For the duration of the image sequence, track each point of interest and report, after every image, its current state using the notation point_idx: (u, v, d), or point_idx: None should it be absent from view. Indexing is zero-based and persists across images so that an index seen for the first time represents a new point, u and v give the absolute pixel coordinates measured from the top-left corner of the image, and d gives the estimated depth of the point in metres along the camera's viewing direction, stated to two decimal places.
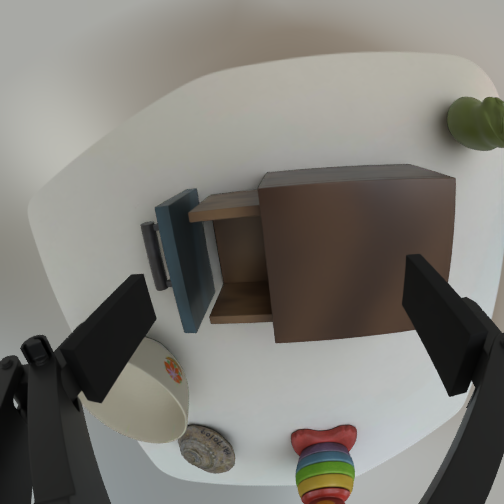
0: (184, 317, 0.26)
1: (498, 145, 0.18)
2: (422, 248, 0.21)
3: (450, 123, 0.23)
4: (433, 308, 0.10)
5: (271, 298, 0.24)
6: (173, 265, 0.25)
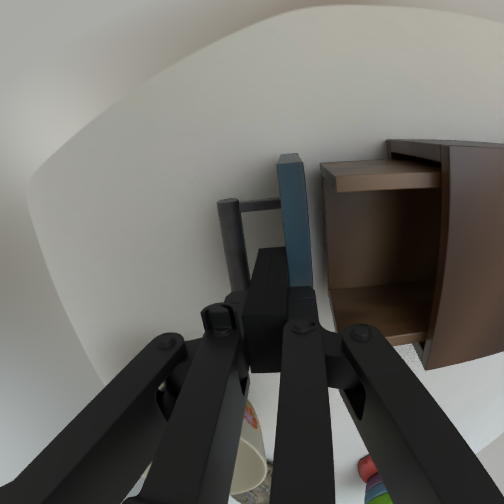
0: None
1: None
2: None
3: None
4: None
5: (439, 310, 0.14)
6: (299, 265, 0.15)
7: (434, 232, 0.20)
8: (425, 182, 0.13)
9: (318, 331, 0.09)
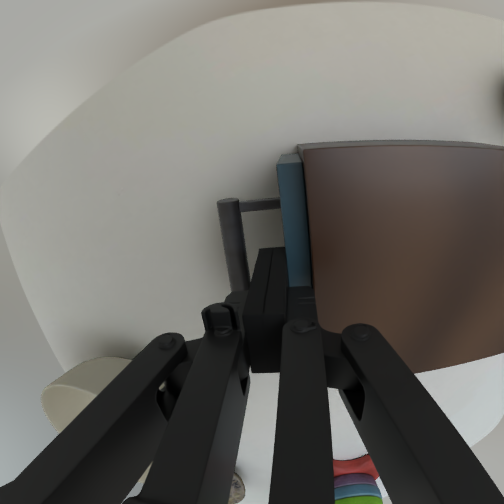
0: None
1: None
2: None
3: None
4: None
5: None
6: (299, 265, 0.15)
7: None
8: None
9: (317, 331, 0.09)
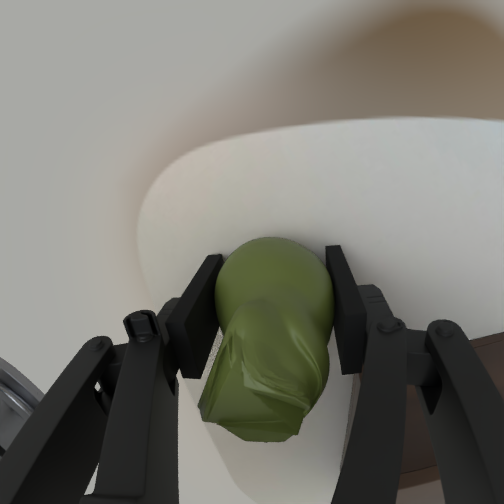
0: None
1: (324, 387, 0.09)
2: None
3: None
4: (334, 293, 0.12)
5: None
6: None
7: None
8: None
9: (403, 332, 0.08)
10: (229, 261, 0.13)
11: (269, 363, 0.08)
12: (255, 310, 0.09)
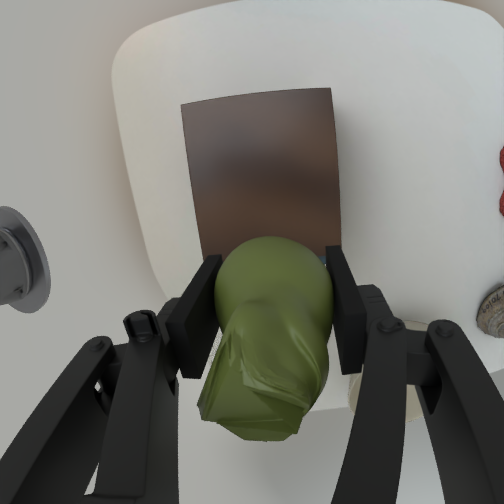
0: None
1: (323, 386, 0.09)
2: (244, 126, 0.24)
3: None
4: (334, 293, 0.12)
5: None
6: None
7: None
8: None
9: (403, 332, 0.08)
10: (228, 260, 0.13)
11: (268, 362, 0.08)
12: (254, 308, 0.08)
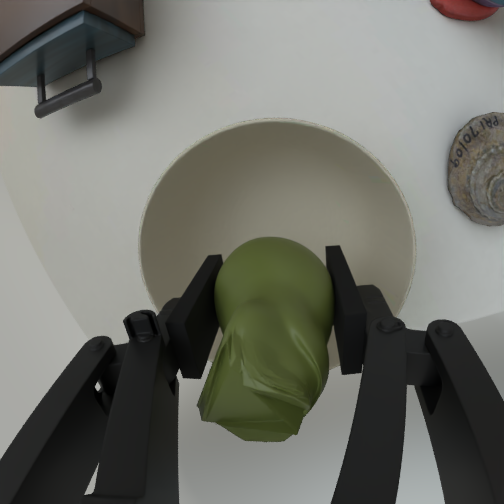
0: (64, 28, 0.13)
1: (323, 386, 0.09)
2: None
3: None
4: (334, 293, 0.12)
5: (35, 28, 0.13)
6: (18, 54, 0.14)
7: None
8: None
9: (403, 332, 0.08)
10: (229, 260, 0.13)
11: (269, 363, 0.08)
12: (254, 309, 0.08)
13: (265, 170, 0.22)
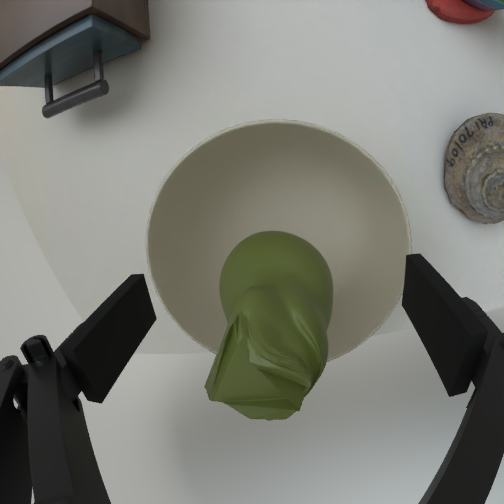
0: (73, 31, 0.14)
1: (323, 368, 0.10)
2: None
3: None
4: (433, 308, 0.10)
5: (45, 30, 0.13)
6: (27, 56, 0.15)
7: None
8: None
9: None
10: (234, 252, 0.14)
11: (273, 341, 0.09)
12: (259, 293, 0.09)
13: (267, 169, 0.23)
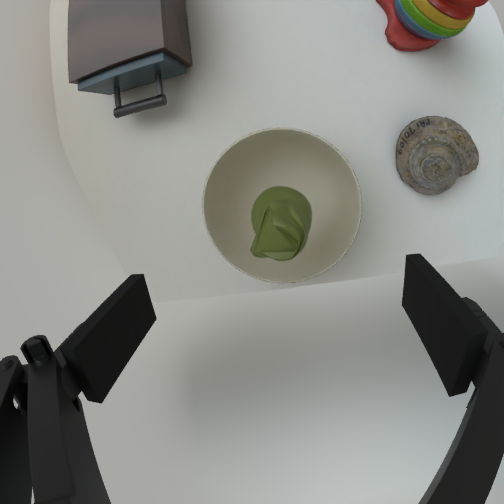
0: (148, 61, 0.27)
1: (306, 240, 0.23)
2: None
3: None
4: (433, 308, 0.10)
5: (127, 58, 0.26)
6: (110, 73, 0.28)
7: None
8: None
9: None
10: (259, 196, 0.27)
11: (283, 218, 0.21)
12: (276, 200, 0.22)
13: (274, 158, 0.36)
